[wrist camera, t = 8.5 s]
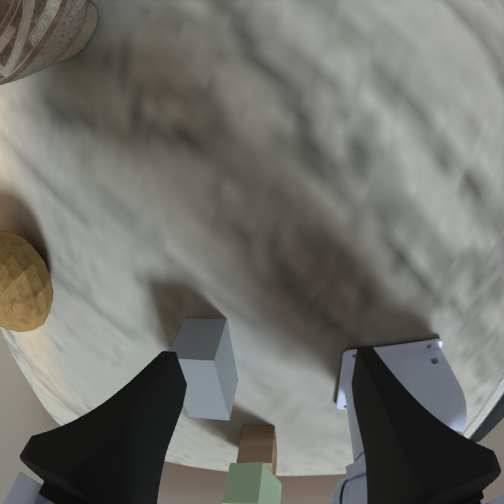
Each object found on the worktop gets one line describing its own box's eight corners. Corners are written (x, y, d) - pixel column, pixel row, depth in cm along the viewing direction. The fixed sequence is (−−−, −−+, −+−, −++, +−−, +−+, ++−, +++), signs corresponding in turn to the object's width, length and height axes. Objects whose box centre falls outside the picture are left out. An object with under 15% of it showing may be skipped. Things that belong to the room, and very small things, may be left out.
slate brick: (185, 317, 23) (165, 357, 19) (227, 317, 23) (213, 360, 18) (201, 376, 26) (188, 416, 21) (238, 378, 26) (229, 420, 21)
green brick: (230, 463, 24) (222, 503, 20) (262, 461, 24) (258, 503, 19) (253, 485, 27) (248, 520, 22) (281, 484, 26) (279, 519, 21)
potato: (-15, 219, 22) (-65, 246, 15) (61, 215, 21) (-5, 252, 14) (6, 296, 26) (-34, 330, 19) (85, 313, 25) (39, 365, 17)
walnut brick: (242, 424, 29) (236, 461, 24) (274, 425, 28) (271, 462, 24) (249, 452, 31) (245, 484, 27) (277, 453, 31) (274, 485, 26)
